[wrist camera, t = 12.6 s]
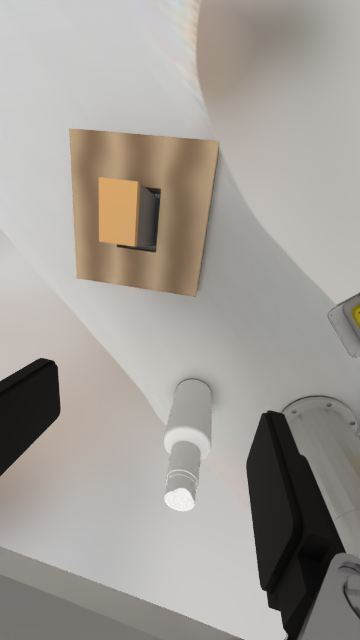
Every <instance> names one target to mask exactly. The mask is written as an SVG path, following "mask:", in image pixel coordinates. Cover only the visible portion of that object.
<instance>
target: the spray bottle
mask: <svg viewBox="0 0 360 640" xmlns="http://www.w3.org/2000/svg"><path fill="white" fill-rule="evenodd" d="M211 424H212V394H211V391H210V389H209V387H208V386H207V385H206V384H205V383H203V382H201V381H199V380H195V379H188V380H185V381H183V382H182V383H180V384H179V385H178V387H177V388H176V392H175V396H174V400H173V404H172V408H171V411H170V415H169V419H168V423H167V427H166V431H165V435H164V440H163V442H164V447H165V449H166V451H167V452H168V453H169V454H170V458H169V467H168V472H167V477H166V479H167V487H166V491H165V497H164V499H165V502H166V504H167V505H168V506H169V507H171V508H173V509H174V510H178V511H188V510H191V509H192V508H193V507H194V504H195V493H196V488H197V485H198V478H199V467H200V461H201V460H203V459H205V458H206V457H207V456H208V455H209V453H210V450H211Z"/></svg>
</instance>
